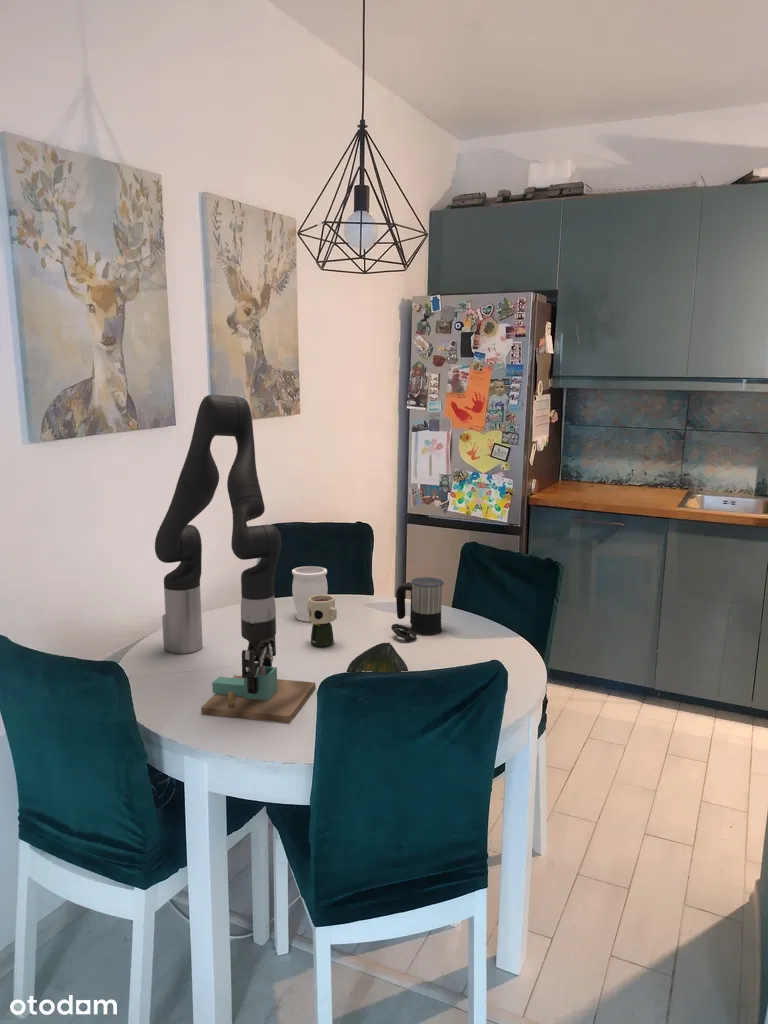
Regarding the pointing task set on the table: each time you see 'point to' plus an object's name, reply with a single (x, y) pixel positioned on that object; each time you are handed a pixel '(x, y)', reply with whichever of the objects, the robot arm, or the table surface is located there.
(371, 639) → the table surface
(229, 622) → the table surface
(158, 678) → the table surface
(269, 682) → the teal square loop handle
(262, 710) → the base
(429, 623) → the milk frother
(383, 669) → the squash
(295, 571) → the jar
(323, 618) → the character mug
